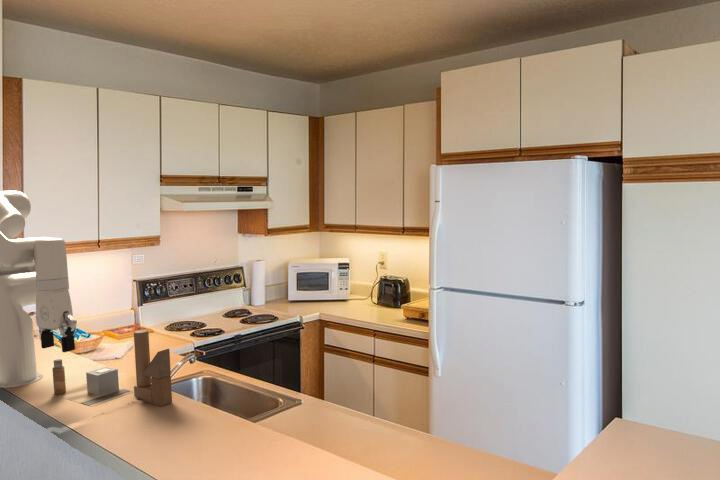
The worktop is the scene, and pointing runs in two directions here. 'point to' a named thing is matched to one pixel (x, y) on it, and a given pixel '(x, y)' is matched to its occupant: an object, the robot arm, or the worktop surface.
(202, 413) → the worktop surface
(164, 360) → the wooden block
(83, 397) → the panel
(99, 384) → the block
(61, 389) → the grey-capped wooden cylinder
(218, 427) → the worktop surface
